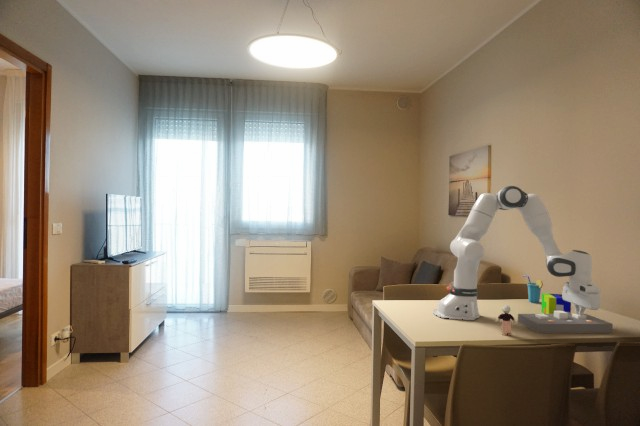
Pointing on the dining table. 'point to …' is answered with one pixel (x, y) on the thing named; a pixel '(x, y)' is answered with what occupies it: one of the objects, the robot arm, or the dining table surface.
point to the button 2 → (579, 316)
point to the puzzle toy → (554, 304)
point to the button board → (565, 324)
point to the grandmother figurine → (506, 320)
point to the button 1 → (542, 316)
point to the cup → (534, 290)
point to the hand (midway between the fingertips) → (579, 314)
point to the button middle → (561, 314)
